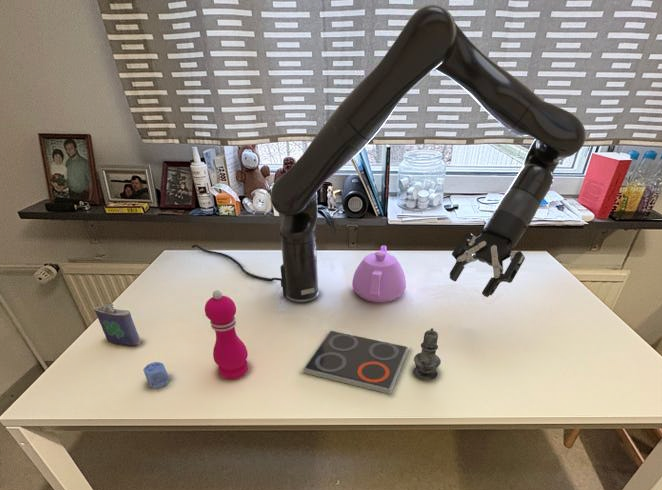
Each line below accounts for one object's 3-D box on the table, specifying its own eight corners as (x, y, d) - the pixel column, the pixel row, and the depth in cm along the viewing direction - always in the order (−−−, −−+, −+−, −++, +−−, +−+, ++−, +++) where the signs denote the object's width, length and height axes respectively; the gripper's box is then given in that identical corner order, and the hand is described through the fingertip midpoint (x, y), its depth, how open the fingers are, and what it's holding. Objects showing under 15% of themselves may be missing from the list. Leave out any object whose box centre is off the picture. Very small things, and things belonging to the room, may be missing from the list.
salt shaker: (438, 383, 89) (446, 337, 81) (410, 379, 90) (416, 334, 82) (439, 366, 93) (447, 322, 86) (413, 362, 94) (418, 318, 87)
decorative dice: (170, 383, 88) (165, 369, 85) (151, 390, 86) (145, 376, 83) (166, 373, 90) (161, 359, 88) (147, 380, 89) (141, 365, 86)
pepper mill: (221, 384, 88) (201, 303, 75) (214, 365, 93) (193, 287, 80) (254, 374, 90) (239, 295, 78) (245, 356, 95) (230, 279, 83)
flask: (143, 341, 100) (129, 303, 93) (135, 348, 97) (120, 310, 91) (112, 335, 101) (95, 298, 95) (103, 342, 99) (85, 304, 93)
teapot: (402, 313, 111) (406, 272, 103) (346, 308, 113) (346, 267, 105) (407, 276, 128) (411, 239, 120) (358, 272, 130) (358, 235, 122)
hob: (303, 373, 91) (303, 367, 90) (330, 334, 103) (330, 329, 102) (390, 394, 86) (390, 388, 85) (408, 351, 98) (408, 345, 97)
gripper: (476, 199, 85) (434, 269, 88) (538, 219, 76) (490, 295, 79) (488, 216, 91) (449, 280, 94) (547, 236, 82) (502, 306, 85)
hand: (468, 287), depth 86 cm, fingers open, 8 cm apart
